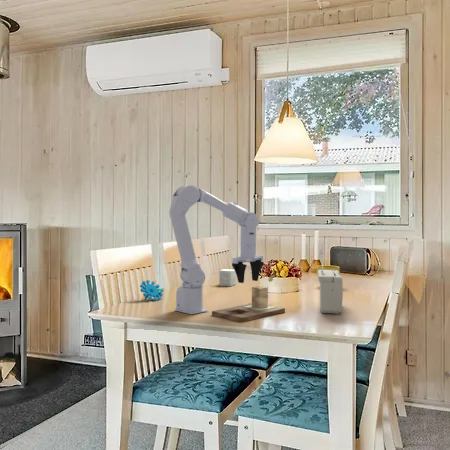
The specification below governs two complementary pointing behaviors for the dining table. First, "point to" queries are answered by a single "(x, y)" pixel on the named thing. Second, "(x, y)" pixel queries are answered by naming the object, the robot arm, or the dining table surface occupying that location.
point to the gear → (151, 290)
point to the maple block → (259, 297)
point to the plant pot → (328, 268)
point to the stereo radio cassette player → (330, 290)
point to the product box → (227, 277)
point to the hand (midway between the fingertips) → (248, 281)
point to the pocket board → (247, 312)
